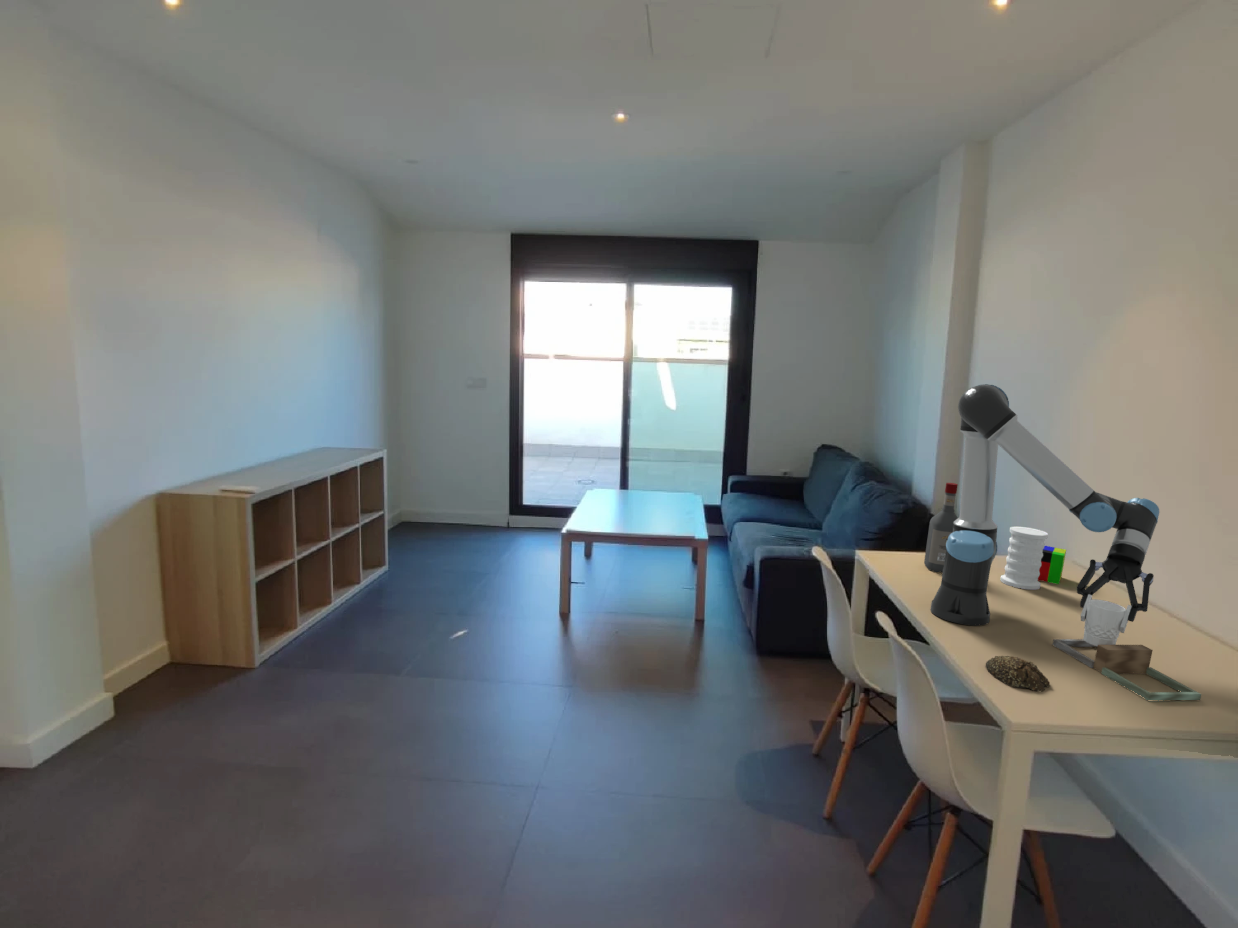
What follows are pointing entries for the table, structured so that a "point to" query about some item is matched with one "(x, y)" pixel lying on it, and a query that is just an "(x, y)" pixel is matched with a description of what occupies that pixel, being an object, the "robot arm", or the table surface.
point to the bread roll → (1017, 672)
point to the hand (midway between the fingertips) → (1102, 624)
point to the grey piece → (1127, 667)
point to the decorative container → (1024, 558)
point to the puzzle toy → (1052, 564)
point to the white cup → (1103, 622)
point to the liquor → (941, 531)
